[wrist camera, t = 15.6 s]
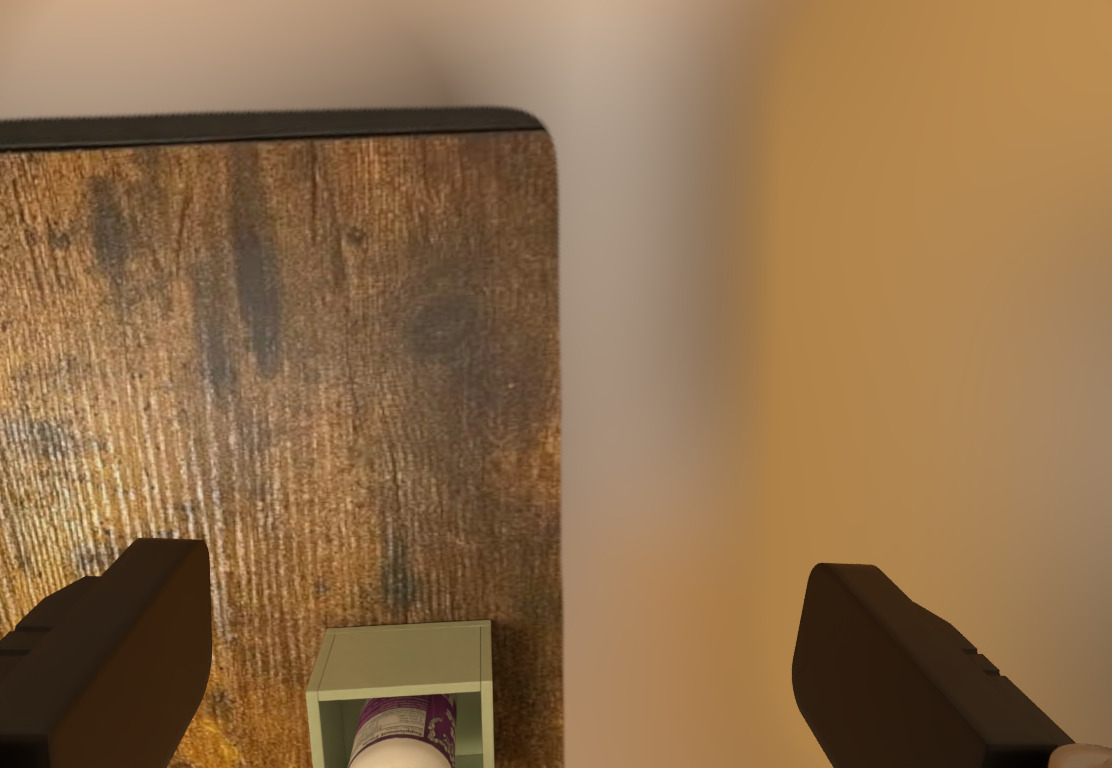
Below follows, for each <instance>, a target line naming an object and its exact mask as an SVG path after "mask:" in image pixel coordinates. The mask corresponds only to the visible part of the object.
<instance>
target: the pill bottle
mask: <svg viewBox="0 0 1112 768" xmlns="http://www.w3.org/2000/svg"><path fill="white" fill-rule="evenodd" d="M456 718H457V700H456V694H455V693H446V694H430V695H414V696H397V697H381V698H364V701H363V705H362V708H361V712H360V717H359V722H358V726H357V731H356V735H355V739H354V744H353V749H352V753H351V757H350V762H349V766H348V768H455V746H456Z"/></svg>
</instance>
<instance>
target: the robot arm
mask: <svg viewBox="0 0 1112 768" xmlns="http://www.w3.org/2000/svg"><path fill="white" fill-rule="evenodd" d="M211 660H212V628H211V594H210V561H209V552H208V548H207V545H206V543H205V542H204V541H203V540H192V539H164V538H138V539H136V540H135V541H134V542H133V543H132V544H131V545H130V546H129V547H128V548H127V549H126V550H125V551H124V552H123V553H122V555H121V556H120V557H119V558H118V559H117V560H116V561H115V562H114V563H113V564H112V565H111V566H110V567H109V568H108V569H107V570H106V572H105V573H104V574H103V575H102V576H101V577H100V576H85V577H83V578H81V579H79V580H77V581H75V582H74V583H72V584H70V585H68V586H66V587H64V588H62V589H60V590H59V591H57V592H55V593H53V594H51V595H49V596H47V597H45V598H44V599H43V600H42V601H41V602H40V603H38V604H37V605H36V606H35V607H34V608H33V609H32V610H31V611H30V612H29V613H28V614H27V615H26V616H25V617H24V618H23V619H22V620H21V621H20V622H19V623H18V624H17V625H16V627H15V631H14V632H13V631H10V632H9V633H8V634H7V635H6V636H5V637H4V638H3V639H1V640H0V768H167V766H168V764H169V762H170V760H171V758H172V756H173V754H174V753H175V751H176V749H177V747H178V745H179V743H180V741H181V739H182V737H183V736H184V734H185V732H186V730H187V728H188V726H189V724H190V722H191V720H192V718H193V717H194V715H195V713H196V711H197V709H198V707H199V705H200V703H201V701H202V699H203V696H204V693H205V690H206V687H207V683H208V679H209V674H210V668H211ZM999 671H1000V670H999V669H997V667H995V666H994V665H993V664H992V663H991V662H990V661H989V660H988V659H987V658H986V657H985V656H984V655H983V654H978V653H977V648H975V647H974V646H973V645H972V644H971V643H970V642H969V641H968V640H967V639H966V638H965V637H964V636H963V635H962V634H961V633H960V632H959V631H957V629H956V628H954V627H953V626H952V625H951V624H950V623H948V622H947V621H945V620H943V619H942V618H940V617H938V616H937V615H935V614H933V613H932V612H930V611H928V610H926V609H925V608H923V607H921V606H920V605H918V604H916V603H915V602H912V600H911V599H909V598H908V597H907V596H906V595H905V594H904V593H903V592H902V591H901V590H900V589H899V588H898V587H897V586H896V585H895V584H894V583H893V582H892V581H891V580H890V579H889V578H888V577H887V576H886V575H885V574H884V573H883V572H882V571H881V570H880V569H879V568H877V567H876V566H874V565H863V564H836V563H819V564H817V565H816V566H815V567H814V568H813V569H812V571H811V574H810V576H809V579H808V583H807V589H806V594H805V599H804V605H803V610H802V615H801V620H800V626H799V631H798V636H797V641H796V647H795V652H794V657H793V663H792V683H793V691H794V695H795V699H796V703H797V705H798V708H799V710H800V712H801V714H802V716H803V717H804V719H805V721H806V722H807V724H808V726H809V727H810V729H811V731H812V732H813V734H814V736H815V737H816V739H817V741H818V742H819V744H820V746H821V747H822V749H823V751H824V752H825V754H826V756H827V757H828V759H829V761H830V762H831V764H832V766H833V767H834V768H1112V748H1108V747H1103V746H1099V745H1092V744H1078V743H1075V742H1074V741H1073V740H1072V739H1071V738H1070V737H1069V736H1068V735H1067V734H1066V733H1065V732H1064V731H1063V730H1061V728H1059V727H1058V726H1057V725H1056V724H1055V723H1054V722H1053V721H1052V720H1051V719H1050V718H1049V717H1048V716H1047V715H1046V714H1045V713H1044V712H1043V711H1042V710H1041V709H1040V708H1038V707H1037V706H1036V705H1035V704H1034V703H1033V702H1032V701H1031V700H1030V699H1029V698H1028V697H1027V696H1026V695H1025V694H1024V693H1022V691H1021V690H1020V689H1019V688H1017V687H1016V686H1015V685H1014V684H1013V683H1012V682H1011V681H1010V680H1009V679H1008V678H1007V677H1006V676H1000V674H999Z"/></svg>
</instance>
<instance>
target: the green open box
mask: <svg viewBox="0 0 1112 768" xmlns="http://www.w3.org/2000/svg"><path fill="white" fill-rule="evenodd" d="M305 693H306V703H307V713H308V723H309V734H310V744H311V754H312V764H313V768H348V766H349V762H350V757H351V753H352V749H353V744H354V739H355V735H356V731H357V726H358V722H359V717H360V712H361V708H362V705H363V701H364V698H381V697H397V696H414V695H430V694H446V693H455V694H456V700H457V718H456V746H455V768H495V765H494V723H493V681H492V643H491V620H476V621H457V622H437V623H418V624H399V625H380V626H361V627H342V628H327V630H326V633H325V636H324V639H323V642H322V645H321V648H320V651H319V654H318V657H317V660H316V663H315V666H314V669H313V672H312V675H311V678H310V680H309V683H308V686H307V689H306V692H305Z"/></svg>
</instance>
